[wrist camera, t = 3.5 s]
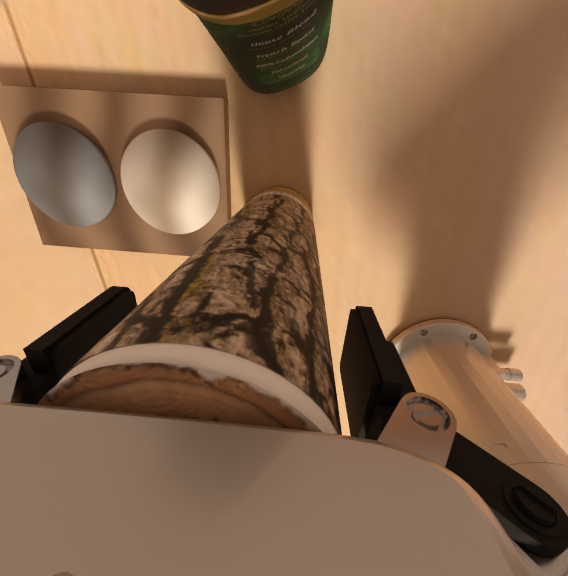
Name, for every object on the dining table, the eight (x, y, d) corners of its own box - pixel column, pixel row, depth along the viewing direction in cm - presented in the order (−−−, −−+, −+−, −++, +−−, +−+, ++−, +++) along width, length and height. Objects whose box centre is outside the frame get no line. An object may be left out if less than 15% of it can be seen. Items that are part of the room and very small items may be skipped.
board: (227, 101, 24) (220, 96, 22) (232, 254, 30) (226, 261, 28) (5, 88, 25) (-22, 82, 23) (54, 240, 31) (36, 247, 29)
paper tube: (239, 192, 27) (-50, 382, 5) (307, 179, 26) (324, 338, 4) (255, 257, 30) (118, 558, 8) (317, 246, 29) (360, 557, 7)
